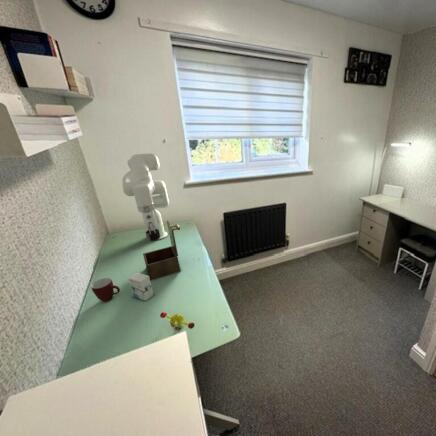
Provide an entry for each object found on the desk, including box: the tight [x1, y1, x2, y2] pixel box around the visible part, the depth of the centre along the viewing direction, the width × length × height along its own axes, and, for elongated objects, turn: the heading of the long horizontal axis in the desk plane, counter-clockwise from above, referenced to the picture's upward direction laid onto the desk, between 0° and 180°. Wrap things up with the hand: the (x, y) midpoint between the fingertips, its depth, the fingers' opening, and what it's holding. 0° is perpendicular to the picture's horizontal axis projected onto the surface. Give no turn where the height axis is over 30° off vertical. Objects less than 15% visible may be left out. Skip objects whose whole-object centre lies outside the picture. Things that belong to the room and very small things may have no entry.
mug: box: [90, 277, 121, 303], centre depth 116 cm, size 10×8×10 cm
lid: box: [166, 220, 181, 257], centre depth 139 cm, size 17×15×5 cm
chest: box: [142, 245, 181, 282], centre depth 139 cm, size 16×15×10 cm
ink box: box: [128, 272, 154, 301], centre depth 118 cm, size 9×5×12 cm, turn 71°
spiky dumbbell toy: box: [159, 311, 195, 330], centre depth 101 cm, size 18×6×7 cm, turn 69°
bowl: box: [144, 229, 160, 242], centre depth 131 cm, size 7×7×4 cm
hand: (153, 237), depth 131 cm, fingers closed on bowl, 6 cm apart
